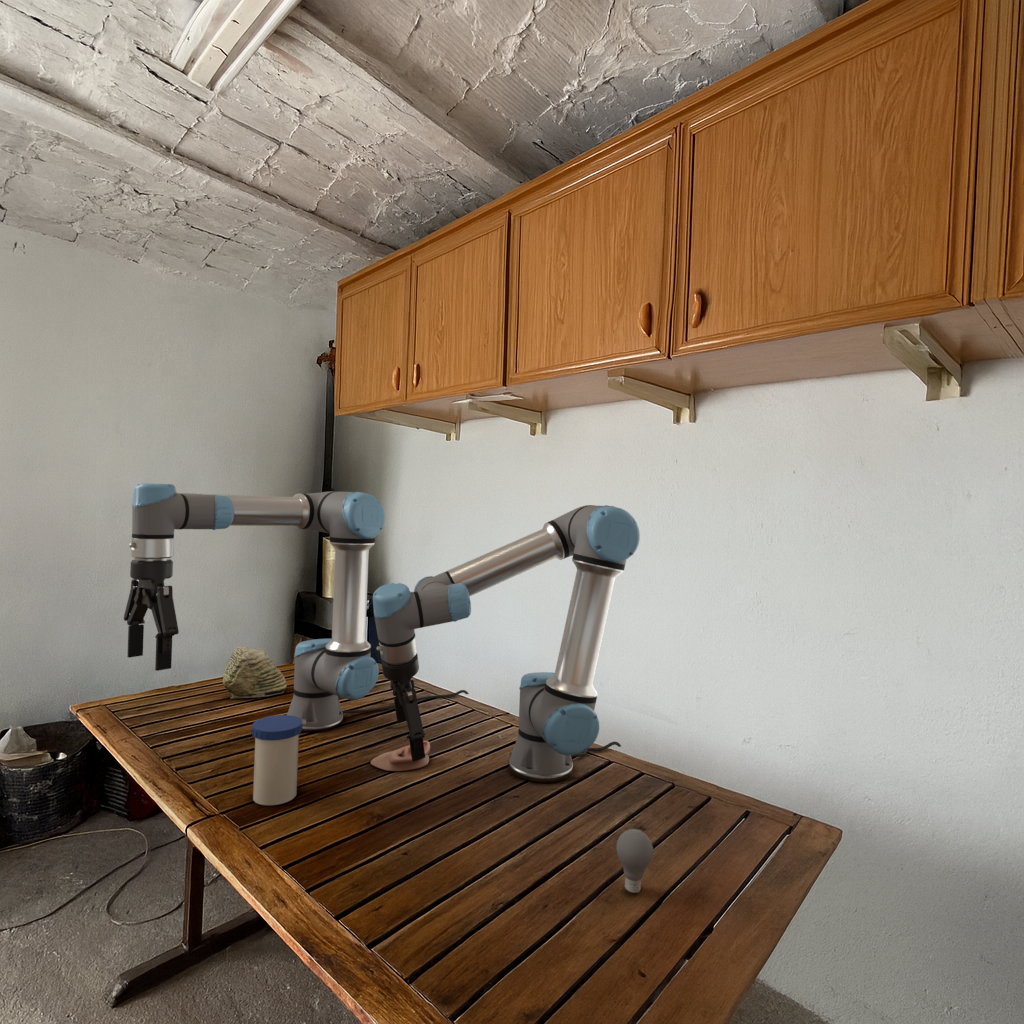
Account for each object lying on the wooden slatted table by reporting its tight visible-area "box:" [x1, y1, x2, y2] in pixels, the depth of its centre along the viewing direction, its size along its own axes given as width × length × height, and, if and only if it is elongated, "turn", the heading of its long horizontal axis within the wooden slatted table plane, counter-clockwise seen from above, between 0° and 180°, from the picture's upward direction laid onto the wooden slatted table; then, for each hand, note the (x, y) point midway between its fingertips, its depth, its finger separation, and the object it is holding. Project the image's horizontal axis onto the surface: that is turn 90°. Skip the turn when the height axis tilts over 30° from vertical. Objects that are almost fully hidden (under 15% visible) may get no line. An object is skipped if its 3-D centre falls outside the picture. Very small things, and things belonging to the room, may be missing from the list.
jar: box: [252, 734, 300, 806], centre depth 133 cm, size 9×9×15 cm
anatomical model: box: [370, 740, 431, 772], centre depth 153 cm, size 13×4×12 cm
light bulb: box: [615, 828, 654, 894], centre depth 106 cm, size 6×6×10 cm
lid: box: [251, 714, 303, 740], centre depth 133 cm, size 10×10×2 cm
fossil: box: [222, 646, 288, 699], centre depth 198 cm, size 9×18×15 cm, turn 132°
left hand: (148, 662), depth 129 cm, fingers open, 13 cm apart
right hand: (410, 739), depth 139 cm, fingers open, 13 cm apart
